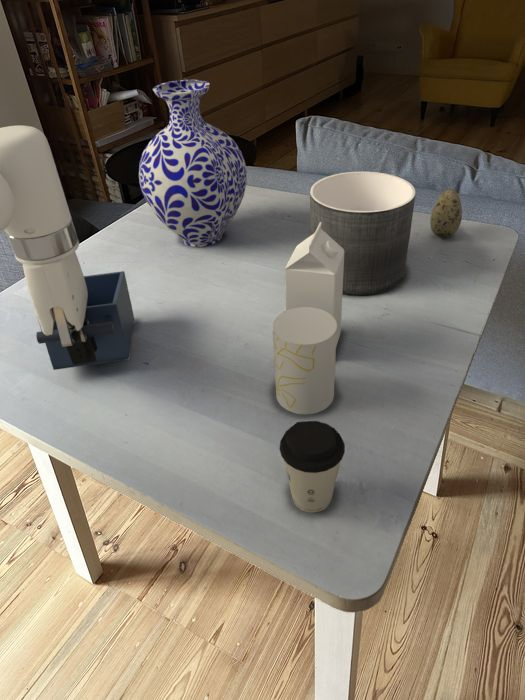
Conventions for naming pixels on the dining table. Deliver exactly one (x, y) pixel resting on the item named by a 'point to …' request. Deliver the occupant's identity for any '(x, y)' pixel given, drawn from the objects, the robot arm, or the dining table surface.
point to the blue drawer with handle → (99, 322)
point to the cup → (304, 359)
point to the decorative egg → (446, 214)
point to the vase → (192, 169)
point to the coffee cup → (312, 463)
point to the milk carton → (316, 276)
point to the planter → (366, 226)
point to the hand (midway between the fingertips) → (85, 356)
